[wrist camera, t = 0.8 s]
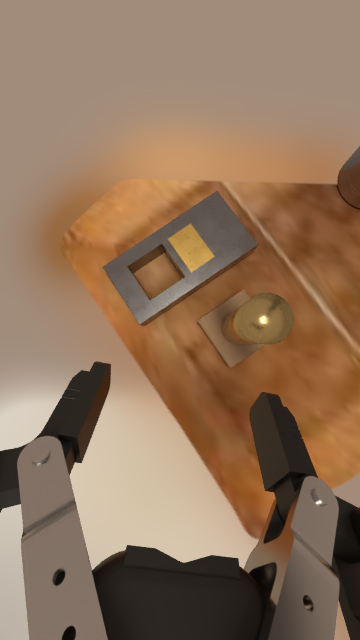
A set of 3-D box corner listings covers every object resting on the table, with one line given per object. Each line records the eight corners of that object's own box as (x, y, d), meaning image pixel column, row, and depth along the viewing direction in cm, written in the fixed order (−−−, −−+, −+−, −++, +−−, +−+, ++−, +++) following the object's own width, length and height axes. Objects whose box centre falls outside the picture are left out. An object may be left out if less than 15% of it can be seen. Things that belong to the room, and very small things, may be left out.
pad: (240, 292, 33) (243, 289, 31) (272, 336, 32) (278, 335, 30) (197, 321, 33) (197, 320, 31) (228, 366, 32) (230, 368, 30)
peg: (240, 306, 31) (272, 283, 19) (259, 332, 30) (304, 324, 18) (215, 323, 31) (230, 311, 19) (233, 349, 30) (261, 354, 18)
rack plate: (214, 203, 35) (217, 189, 32) (252, 253, 34) (258, 243, 30) (110, 273, 34) (101, 266, 31) (144, 326, 33) (139, 324, 30)
